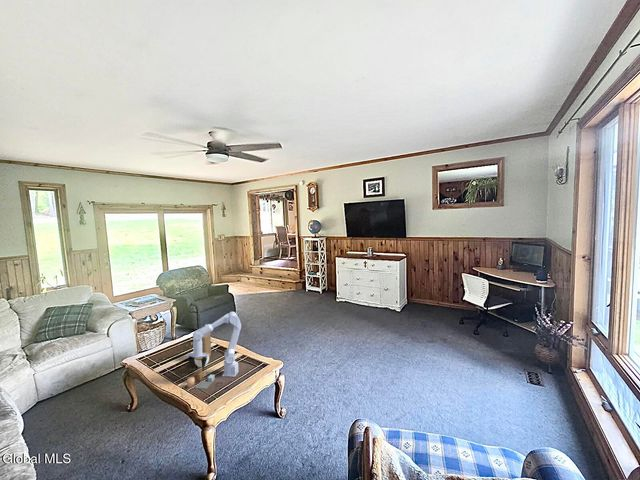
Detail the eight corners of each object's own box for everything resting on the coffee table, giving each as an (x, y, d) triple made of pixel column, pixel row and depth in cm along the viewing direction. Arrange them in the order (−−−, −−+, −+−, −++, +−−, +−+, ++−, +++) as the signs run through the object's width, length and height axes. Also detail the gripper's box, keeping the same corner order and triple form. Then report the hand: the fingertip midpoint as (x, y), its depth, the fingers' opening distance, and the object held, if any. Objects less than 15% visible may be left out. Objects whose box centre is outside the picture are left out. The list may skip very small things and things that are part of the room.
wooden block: (211, 355, 231) (211, 332, 230) (206, 361, 221) (205, 336, 220) (199, 355, 231) (199, 331, 230) (193, 361, 221) (193, 336, 220)
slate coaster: (212, 382, 191) (212, 381, 191) (206, 389, 183) (206, 388, 183) (201, 381, 192) (201, 381, 192) (194, 388, 184) (194, 387, 184)
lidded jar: (193, 369, 208) (193, 357, 208) (195, 362, 219) (195, 351, 218) (208, 367, 211) (208, 355, 211) (210, 361, 222) (210, 349, 221)
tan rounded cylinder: (195, 384, 189) (195, 377, 189) (192, 388, 185) (192, 380, 184) (189, 384, 190) (189, 376, 189) (186, 387, 185) (185, 380, 185)
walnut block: (203, 378, 197) (203, 371, 196) (199, 382, 192) (199, 375, 192) (196, 377, 197) (196, 371, 197) (193, 381, 192) (192, 374, 192)
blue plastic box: (214, 379, 196) (214, 374, 196) (211, 382, 192) (211, 377, 192) (210, 378, 196) (210, 374, 196) (207, 381, 192) (207, 377, 192)
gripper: (210, 346, 197) (210, 365, 197) (191, 345, 198) (191, 364, 199) (205, 350, 190) (205, 370, 190) (185, 349, 191) (185, 369, 192)
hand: (198, 367), depth 194 cm, fingers open, 7 cm apart
